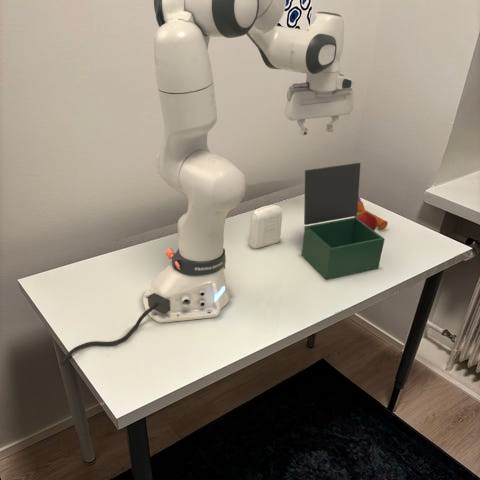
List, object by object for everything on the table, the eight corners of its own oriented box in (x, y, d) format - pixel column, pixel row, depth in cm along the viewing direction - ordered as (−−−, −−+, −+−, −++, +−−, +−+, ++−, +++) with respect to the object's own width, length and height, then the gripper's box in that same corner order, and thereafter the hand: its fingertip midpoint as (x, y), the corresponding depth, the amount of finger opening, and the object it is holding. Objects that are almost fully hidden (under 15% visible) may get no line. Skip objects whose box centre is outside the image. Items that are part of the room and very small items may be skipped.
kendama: (376, 221, 162) (340, 193, 175) (375, 236, 167) (339, 208, 180) (391, 214, 164) (354, 188, 177) (389, 229, 168) (353, 202, 181)
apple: (374, 242, 160) (379, 219, 155) (349, 239, 161) (353, 216, 156) (374, 231, 166) (378, 208, 161) (349, 228, 167) (353, 206, 162)
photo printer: (273, 236, 161) (276, 200, 153) (281, 242, 158) (284, 205, 151) (247, 244, 156) (248, 207, 149) (255, 250, 153) (256, 213, 146)
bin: (378, 268, 147) (384, 238, 141) (326, 280, 141) (330, 249, 135) (350, 245, 157) (355, 217, 151) (301, 255, 152) (304, 226, 146)
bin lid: (360, 163, 144) (358, 162, 144) (306, 170, 138) (304, 170, 139) (357, 215, 151) (355, 215, 151) (305, 225, 145) (303, 224, 146)
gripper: (293, 86, 131) (289, 140, 140) (360, 81, 138) (352, 132, 146) (282, 81, 136) (279, 133, 144) (347, 76, 142) (340, 126, 151)
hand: (316, 132), depth 145 cm, fingers open, 7 cm apart
